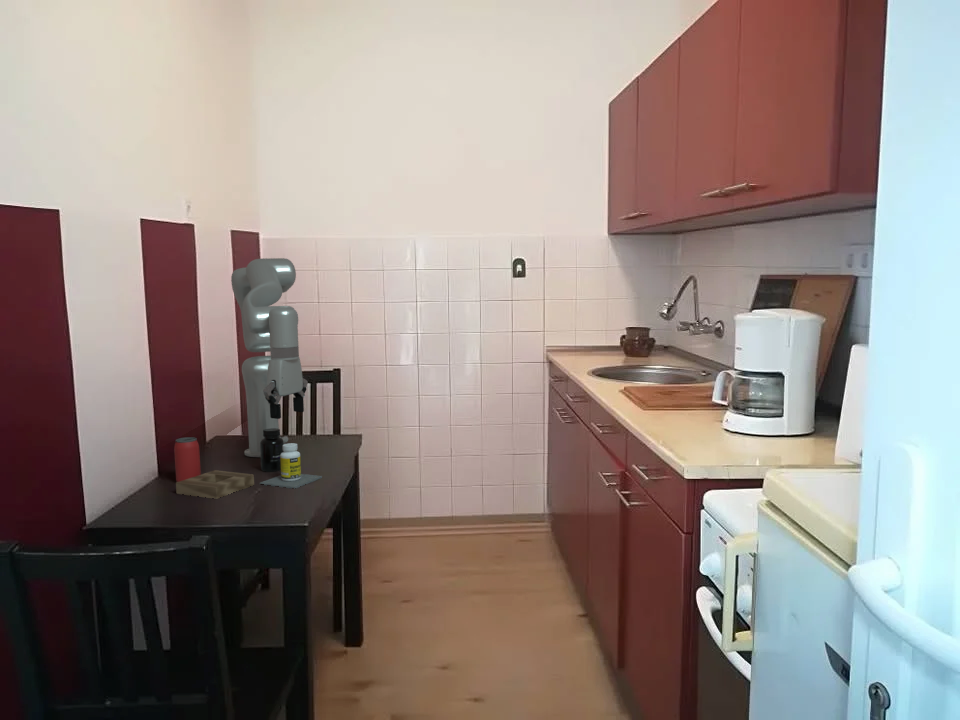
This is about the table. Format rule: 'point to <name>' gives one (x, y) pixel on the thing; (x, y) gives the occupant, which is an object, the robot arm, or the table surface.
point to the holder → (215, 484)
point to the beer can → (187, 458)
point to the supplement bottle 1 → (271, 450)
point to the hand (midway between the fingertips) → (287, 414)
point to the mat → (291, 484)
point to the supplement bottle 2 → (290, 463)
